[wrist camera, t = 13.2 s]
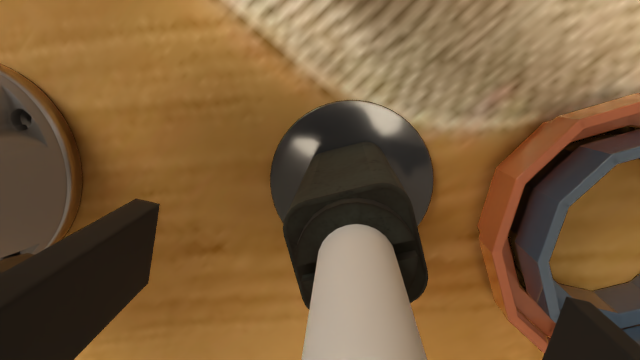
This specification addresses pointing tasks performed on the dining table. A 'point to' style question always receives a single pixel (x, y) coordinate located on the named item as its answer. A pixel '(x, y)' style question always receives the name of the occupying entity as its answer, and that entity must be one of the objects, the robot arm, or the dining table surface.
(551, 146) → the stacked bowls
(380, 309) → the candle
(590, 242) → the dining table surface
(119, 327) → the dining table surface
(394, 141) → the slate coaster
